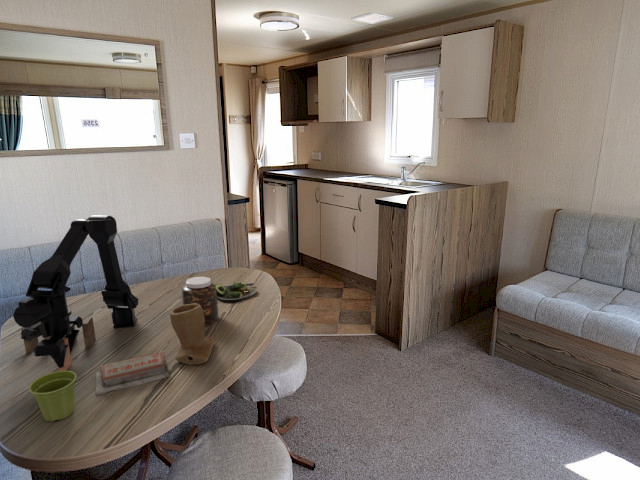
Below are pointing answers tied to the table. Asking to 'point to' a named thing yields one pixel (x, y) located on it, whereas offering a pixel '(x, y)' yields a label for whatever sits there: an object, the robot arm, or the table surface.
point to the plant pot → (55, 394)
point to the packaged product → (131, 372)
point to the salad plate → (234, 291)
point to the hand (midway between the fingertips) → (64, 362)
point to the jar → (202, 297)
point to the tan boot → (191, 334)
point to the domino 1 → (30, 344)
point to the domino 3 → (88, 331)
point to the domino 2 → (67, 359)
